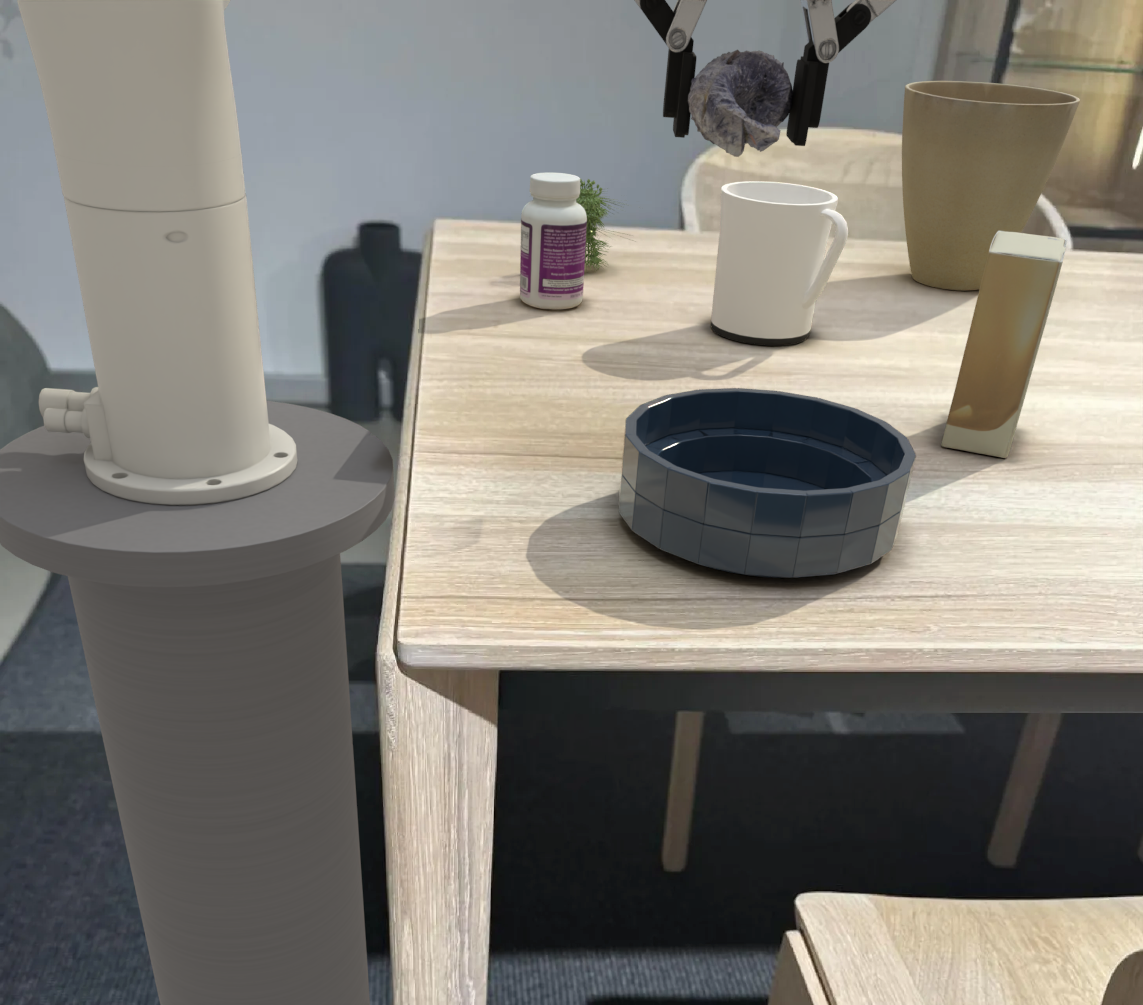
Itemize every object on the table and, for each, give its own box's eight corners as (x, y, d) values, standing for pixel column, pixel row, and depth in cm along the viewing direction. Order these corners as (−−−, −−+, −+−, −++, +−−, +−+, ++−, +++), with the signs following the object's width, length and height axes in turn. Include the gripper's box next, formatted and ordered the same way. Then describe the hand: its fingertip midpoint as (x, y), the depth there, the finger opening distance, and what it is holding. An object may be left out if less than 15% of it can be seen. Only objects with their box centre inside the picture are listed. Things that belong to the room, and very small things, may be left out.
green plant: (493, 257, 111) (495, 169, 107) (604, 249, 116) (610, 165, 112) (553, 290, 103) (557, 196, 99) (670, 280, 108) (678, 190, 104)
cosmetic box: (950, 418, 82) (997, 227, 74) (1015, 429, 80) (1069, 237, 73) (938, 449, 77) (987, 247, 70) (1007, 461, 76) (1064, 258, 68)
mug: (682, 326, 96) (697, 188, 90) (749, 309, 101) (767, 177, 95) (791, 362, 90) (815, 215, 84) (857, 341, 95) (884, 202, 89)
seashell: (738, 187, 63) (739, 162, 71) (815, 102, 60) (807, 86, 69) (666, 110, 61) (676, 94, 70) (742, 19, 59) (743, 13, 67)
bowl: (615, 576, 60) (623, 482, 57) (620, 462, 72) (627, 379, 69) (918, 598, 59) (941, 504, 57) (870, 479, 72) (888, 398, 69)
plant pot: (920, 254, 122) (958, 76, 113) (1056, 286, 114) (1109, 97, 104) (839, 275, 113) (872, 83, 104) (980, 312, 105) (1030, 107, 96)
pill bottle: (592, 300, 101) (600, 175, 95) (566, 314, 97) (572, 185, 91) (536, 290, 103) (540, 167, 97) (507, 304, 99) (510, 176, 93)
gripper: (609, -318, 52) (582, 138, 63) (995, -288, 53) (905, 160, 63) (608, -295, 59) (584, 117, 69) (955, -268, 59) (878, 138, 69)
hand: (738, 134), depth 66 cm, fingers closed on seashell, 5 cm apart
